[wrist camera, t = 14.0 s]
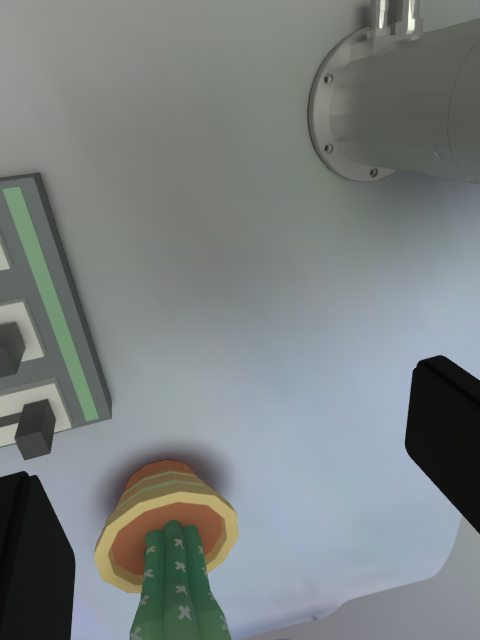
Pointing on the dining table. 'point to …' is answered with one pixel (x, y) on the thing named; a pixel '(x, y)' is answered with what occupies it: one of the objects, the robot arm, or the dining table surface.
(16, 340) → the breaker handle
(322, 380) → the dining table surface
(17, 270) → the breaker panel
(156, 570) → the potted cactus
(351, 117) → the robot arm
